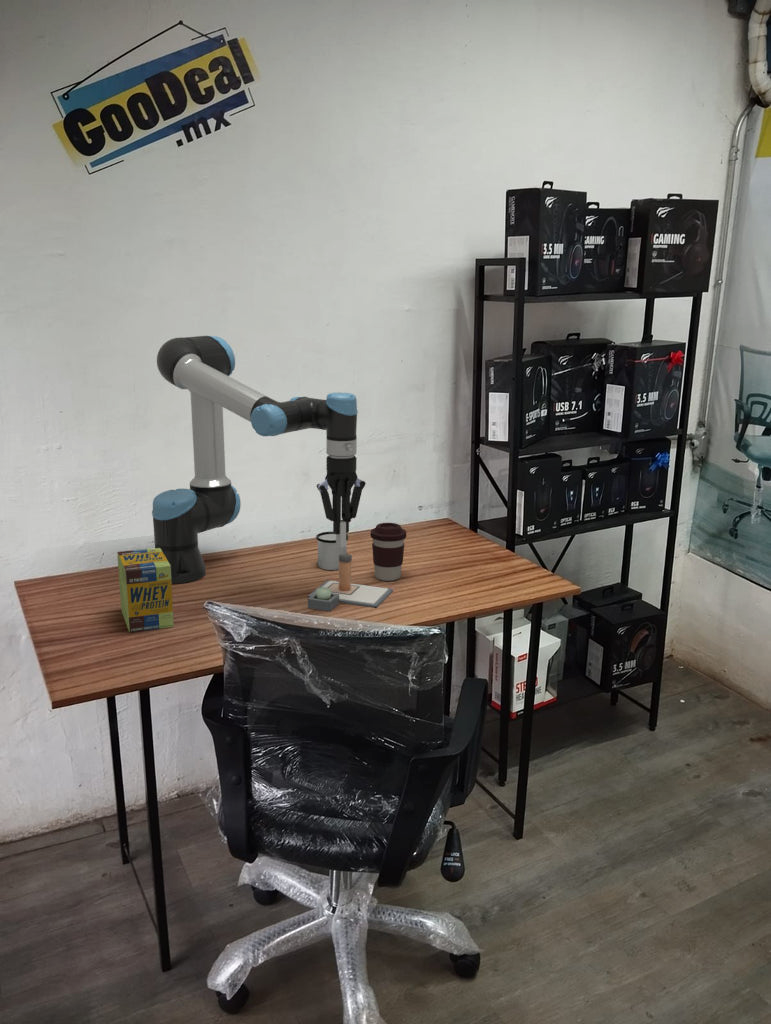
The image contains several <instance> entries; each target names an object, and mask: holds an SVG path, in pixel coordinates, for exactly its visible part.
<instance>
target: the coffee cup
mask: <svg viewBox="0 0 771 1024" xmlns="http://www.w3.org/2000/svg"><path fill="white" fill-rule="evenodd" d="M369 536H370V538H371V539H372V543H371V547H372V561H373V565H374V567H373V568H374V569H373V571H374V577H375V578H376V579H377V580H380V581H385V582H392V581H398V580H399V579H400V578H401V577H402V566H403V563H404V552H405V543H404V542H405V539H406V538H407V530H406V529H404V528H402V526H401V525H400V524H398V523H395V522H382V523H378V524H376V526H375V527H374V528H372V529H371V530H370V535H369Z"/></svg>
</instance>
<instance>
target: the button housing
mask: <svg viewBox="0 0 771 1024" xmlns="http://www.w3.org/2000/svg"><path fill="white" fill-rule="evenodd" d="M339 604H340V603H339V594H335V593H331V598H330V599H329V600H322V599H317V592H316V593H315V594H313V595H312V596H311V597H310V598H308V599H307V608H308V609H310V610H319V611H324V612H331V611H332V610H333V609H335V608H336V607H337V606H338V605H339Z"/></svg>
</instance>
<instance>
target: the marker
mask: <svg viewBox="0 0 771 1024" xmlns="http://www.w3.org/2000/svg"><path fill="white" fill-rule="evenodd" d="M352 558H353V557H352V554H348V553H347V554H340V555H339V570H338V582H339V590H341V591H349V590H351V583H352Z"/></svg>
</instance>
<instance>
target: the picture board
mask: <svg viewBox="0 0 771 1024" xmlns="http://www.w3.org/2000/svg"><path fill="white" fill-rule="evenodd" d="M321 587H326V588H330V589H331V593H335V594H339V604H347V605H353V606H355V605H356V606H360V605H361V606H360V607H368V608H374V607H376V608H378V607H379V606H380V605H381V604H382V603H383V602H384V601H385V600H386V599H387V598H388V597H389V596H390V595H391V594H392V593H393V592H394V588H389V587H388V588H387V587H380V586H374V585H373V586H372V585H366V584H360V583H352V582H351V590H349V591H341V590H339V580H338V581H337V580H331V579H330V580H329V579H328V580H325V582H323V583H321V585H319V586H318V587H317V588H316V589H314V590H313V591H312V592H310V594H308V595H307V598H308V599H309V598H310V597H311V596H312V595H313V594H315V593H316V592H317V589H318V588H321ZM376 608H375V609H376Z"/></svg>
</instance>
